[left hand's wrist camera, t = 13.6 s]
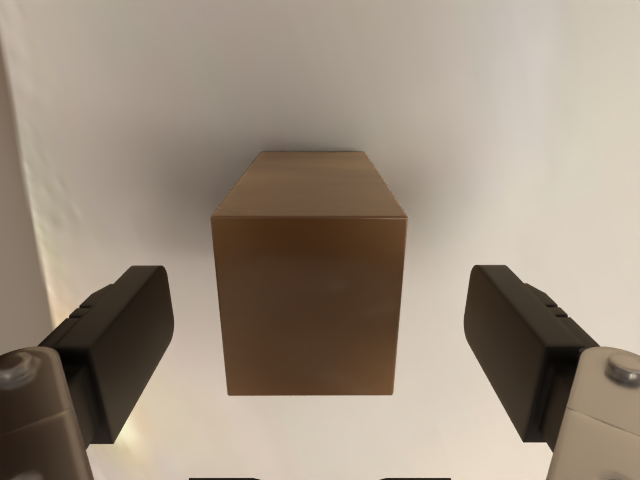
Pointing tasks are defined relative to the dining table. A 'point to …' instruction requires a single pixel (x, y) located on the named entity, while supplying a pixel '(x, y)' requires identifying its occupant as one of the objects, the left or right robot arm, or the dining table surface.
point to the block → (309, 276)
